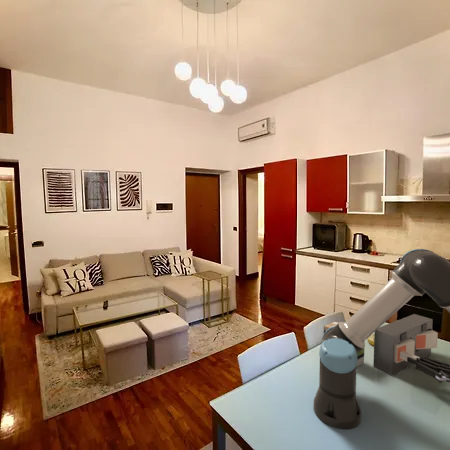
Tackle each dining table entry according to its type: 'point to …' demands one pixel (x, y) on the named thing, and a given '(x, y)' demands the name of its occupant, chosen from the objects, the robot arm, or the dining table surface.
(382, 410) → the dining table surface
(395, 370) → the grey panel with openings
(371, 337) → the decorated donut
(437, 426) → the dining table surface
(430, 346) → the rocker
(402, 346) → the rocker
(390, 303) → the robot arm
